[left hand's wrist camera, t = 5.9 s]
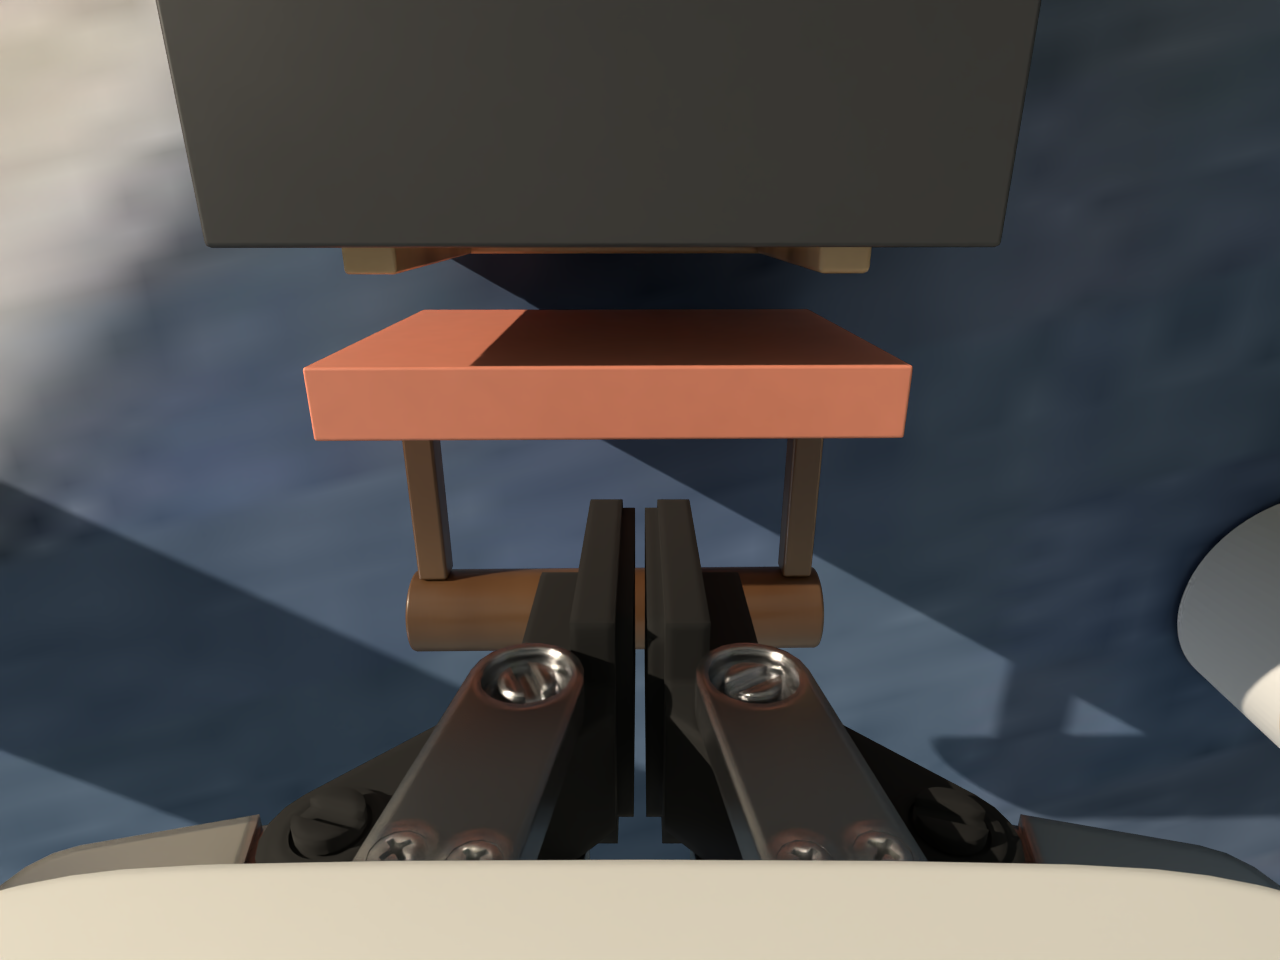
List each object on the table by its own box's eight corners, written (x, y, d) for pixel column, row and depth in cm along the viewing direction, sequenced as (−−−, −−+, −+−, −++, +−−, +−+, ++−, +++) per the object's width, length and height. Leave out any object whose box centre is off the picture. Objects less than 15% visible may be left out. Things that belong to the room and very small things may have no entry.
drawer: (789, 551, 20) (867, 714, 14) (447, 554, 20) (360, 720, 13) (901, -840, 11) (1267, -2237, 5) (299, -855, 11) (-149, -2313, 5)
